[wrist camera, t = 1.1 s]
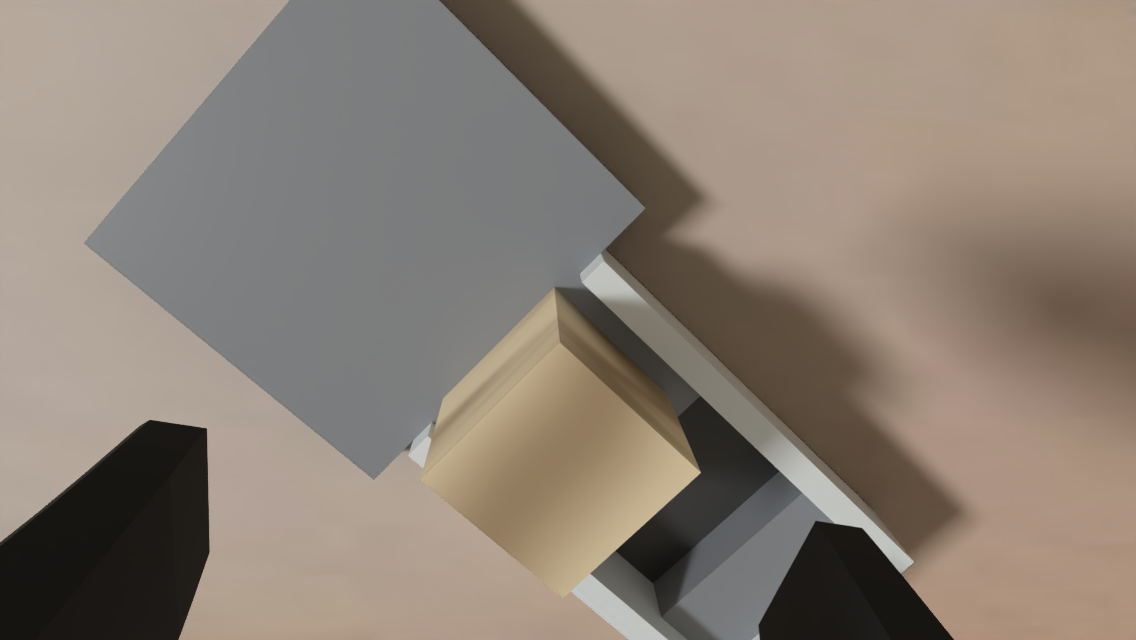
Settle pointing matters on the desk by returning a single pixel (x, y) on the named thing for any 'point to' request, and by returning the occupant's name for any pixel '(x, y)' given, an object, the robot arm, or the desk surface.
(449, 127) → the trap channel
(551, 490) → the maple block
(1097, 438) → the desk surface
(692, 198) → the desk surface
